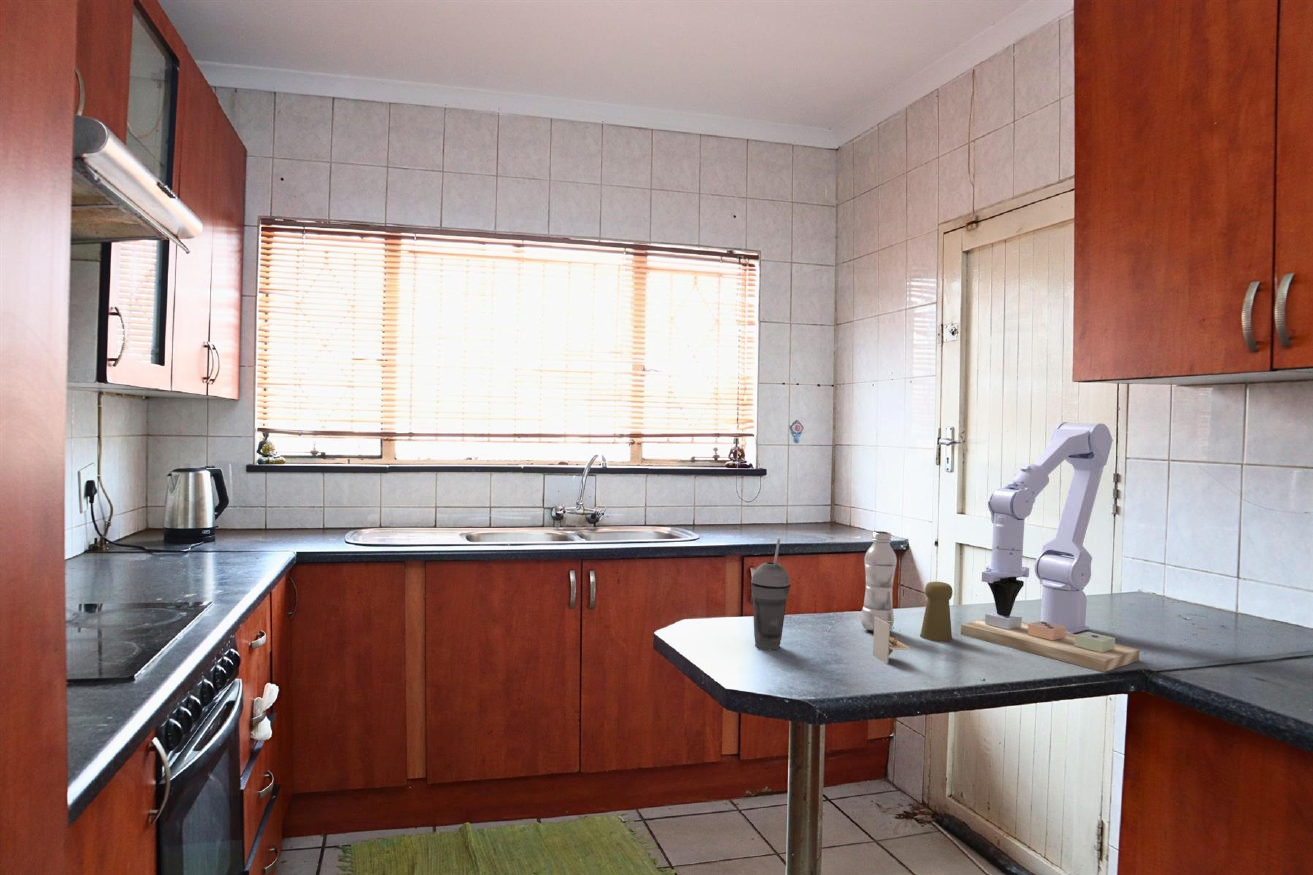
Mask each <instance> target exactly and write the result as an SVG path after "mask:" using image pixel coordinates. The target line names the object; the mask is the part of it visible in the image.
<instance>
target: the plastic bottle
mask: <svg viewBox="0 0 1313 875" xmlns="http://www.w3.org/2000/svg"><path fill="white" fill-rule="evenodd" d="M871 541H872V544H871V545H870V547H868V549H867V551H866V552H865V555H864V561H863V562H864V571H865V593H864V599H863V601H864V602H863V606H862V609H861V614H860V620H861V621H860V622H861V626H862V627H863V629H865V630H867V631H871V632H874V620H875V617H877V618H879V619H881V620H882V621H893V623H892V624H891V626H890V631H892V630H891V629H892V628H893V627H894V622H895V618H894V615H895V614H894V609H893V586H894V579H895V574H896V568H897V562H898V561H897V560H898V559H897V558H898V557H897V555H896V552H895V551H894V550H893V548H892V546H891V544H890V543H892V532H888V531H882V530H876V531H875V530H874V531H872V538H871Z"/></svg>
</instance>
